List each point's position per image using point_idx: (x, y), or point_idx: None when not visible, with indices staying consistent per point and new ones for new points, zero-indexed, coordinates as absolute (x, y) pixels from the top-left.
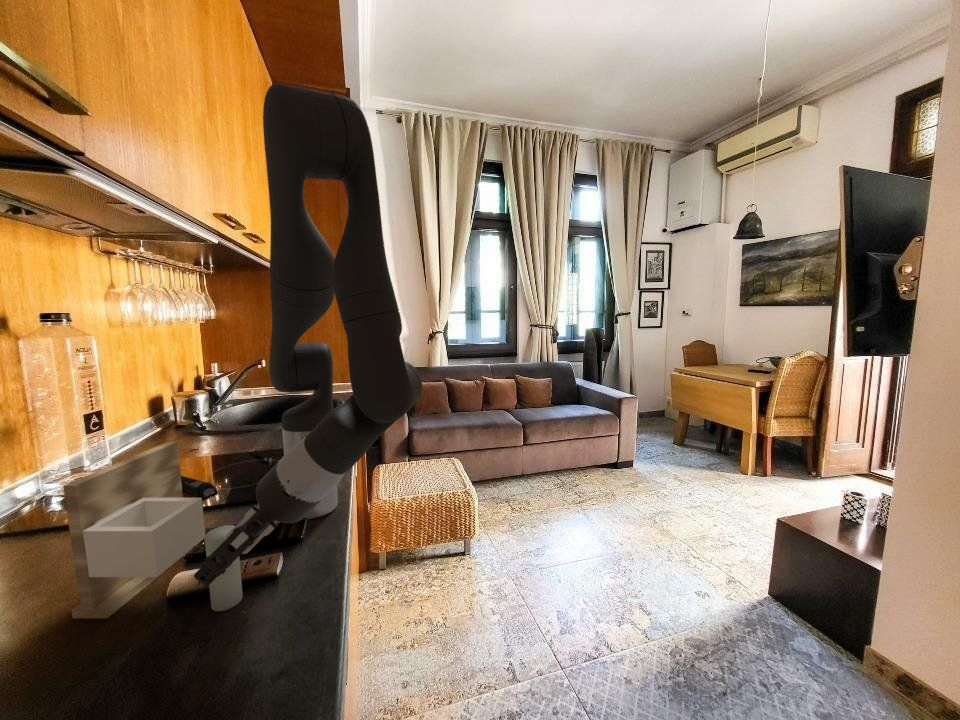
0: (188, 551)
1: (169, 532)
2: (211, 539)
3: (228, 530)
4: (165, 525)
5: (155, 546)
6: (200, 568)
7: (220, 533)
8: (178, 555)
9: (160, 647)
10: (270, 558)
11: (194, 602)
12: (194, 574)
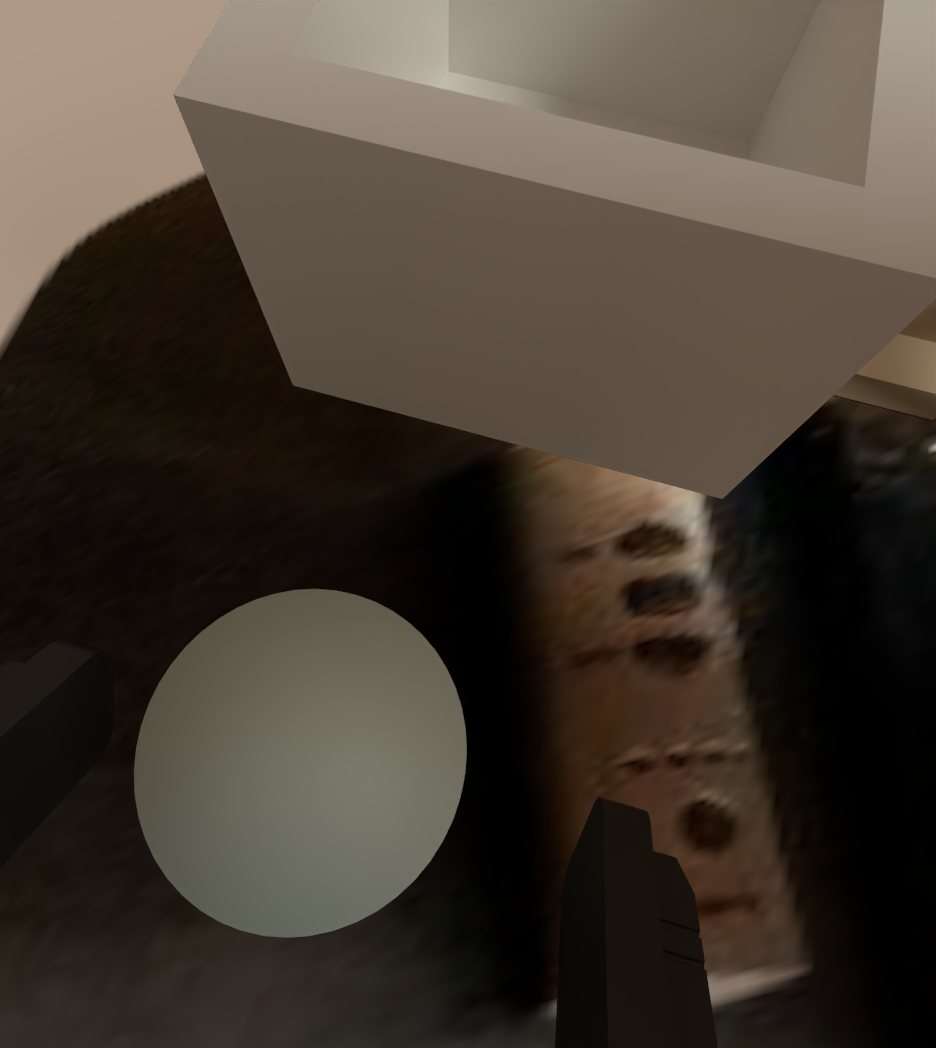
0: (862, 401)
1: (402, 256)
2: (178, 691)
3: (323, 827)
4: (348, 170)
5: (249, 243)
6: (2, 686)
7: (280, 750)
8: (466, 417)
9: (161, 560)
10: (739, 903)
11: (423, 588)
12: (60, 639)
